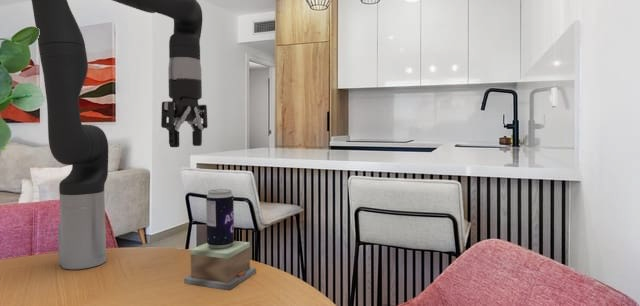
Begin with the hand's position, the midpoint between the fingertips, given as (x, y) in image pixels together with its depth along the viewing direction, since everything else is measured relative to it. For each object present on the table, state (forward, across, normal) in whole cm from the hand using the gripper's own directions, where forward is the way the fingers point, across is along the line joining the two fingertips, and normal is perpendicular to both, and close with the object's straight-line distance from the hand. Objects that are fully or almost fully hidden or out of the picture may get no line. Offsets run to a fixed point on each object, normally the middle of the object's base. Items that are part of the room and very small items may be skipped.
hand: (186, 146), depth 98 cm
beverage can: (+21, +7, +14) cm, 26 cm away
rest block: (+28, +7, +14) cm, 32 cm away
